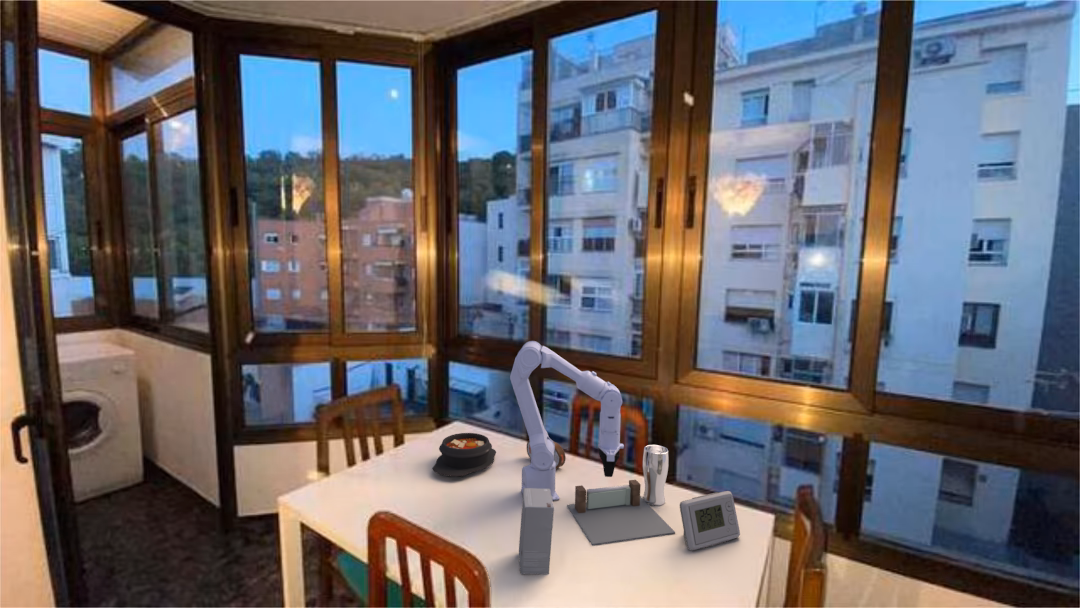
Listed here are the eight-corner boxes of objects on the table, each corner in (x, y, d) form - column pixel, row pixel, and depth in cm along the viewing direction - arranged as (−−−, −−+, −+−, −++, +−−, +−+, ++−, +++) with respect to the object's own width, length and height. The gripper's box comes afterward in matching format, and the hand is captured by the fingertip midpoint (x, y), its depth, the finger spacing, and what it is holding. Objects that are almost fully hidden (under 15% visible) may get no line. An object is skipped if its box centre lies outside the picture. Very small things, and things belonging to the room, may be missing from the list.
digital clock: (687, 554, 114) (689, 510, 113) (669, 532, 123) (670, 491, 122) (749, 546, 117) (751, 504, 116) (726, 526, 126) (729, 486, 125)
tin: (565, 470, 158) (566, 444, 157) (559, 473, 155) (560, 447, 154) (530, 457, 167) (531, 433, 167) (524, 459, 165) (525, 435, 164)
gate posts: (578, 514, 130) (579, 491, 130) (574, 509, 133) (575, 486, 132) (639, 507, 135) (640, 484, 134) (634, 501, 138) (635, 479, 137)
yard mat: (592, 545, 116) (592, 543, 116) (567, 506, 135) (567, 504, 135) (675, 533, 122) (675, 532, 122) (640, 497, 140) (640, 496, 140)
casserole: (469, 487, 144) (469, 460, 144) (417, 475, 152) (417, 448, 151) (508, 456, 167) (509, 433, 166) (462, 447, 175) (462, 424, 174)
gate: (588, 509, 131) (589, 491, 131) (585, 506, 133) (586, 487, 133) (629, 504, 135) (630, 486, 134) (626, 501, 136) (627, 483, 136)
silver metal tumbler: (664, 495, 142) (666, 445, 140) (668, 507, 135) (670, 454, 134) (640, 493, 143) (642, 443, 141) (642, 505, 136) (644, 453, 134)
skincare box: (518, 552, 113) (519, 486, 111) (549, 551, 114) (550, 486, 112) (519, 576, 105) (521, 505, 103) (553, 575, 105) (554, 504, 104)
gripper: (626, 439, 130) (624, 488, 131) (622, 421, 144) (620, 465, 146) (599, 438, 130) (598, 487, 132) (597, 420, 145) (596, 464, 146)
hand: (608, 475), depth 139 cm, fingers closed
